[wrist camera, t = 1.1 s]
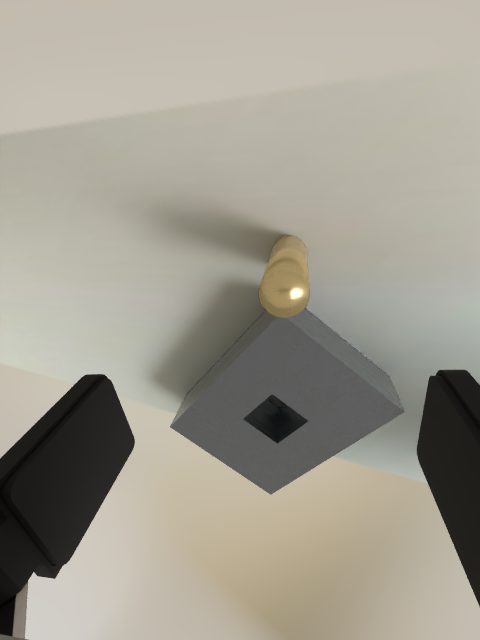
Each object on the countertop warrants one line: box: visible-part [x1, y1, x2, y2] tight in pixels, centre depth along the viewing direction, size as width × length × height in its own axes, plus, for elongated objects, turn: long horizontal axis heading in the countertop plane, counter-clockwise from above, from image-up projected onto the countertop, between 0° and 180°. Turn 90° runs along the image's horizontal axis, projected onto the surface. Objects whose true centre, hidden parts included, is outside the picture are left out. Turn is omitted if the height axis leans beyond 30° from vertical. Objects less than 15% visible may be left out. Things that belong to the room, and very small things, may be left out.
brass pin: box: [259, 236, 310, 318], centre depth 22 cm, size 3×3×10 cm
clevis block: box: [170, 308, 404, 494], centre depth 31 cm, size 14×18×5 cm
